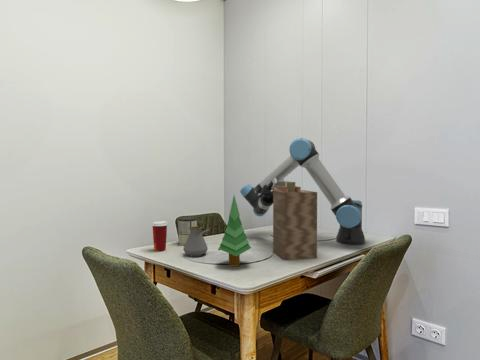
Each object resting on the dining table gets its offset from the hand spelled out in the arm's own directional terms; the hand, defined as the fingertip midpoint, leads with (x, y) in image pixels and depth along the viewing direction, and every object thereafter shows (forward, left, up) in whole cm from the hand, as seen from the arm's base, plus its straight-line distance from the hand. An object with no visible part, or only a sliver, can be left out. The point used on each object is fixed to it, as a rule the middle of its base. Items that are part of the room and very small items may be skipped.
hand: (280, 180), depth 164 cm
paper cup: (+57, -18, -35) cm, 69 cm away
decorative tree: (+27, +16, -35) cm, 47 cm away
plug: (0, +2, -5) cm, 5 cm away
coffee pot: (+36, -6, -35) cm, 51 cm away
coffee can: (+42, -29, -35) cm, 62 cm away
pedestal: (-4, +8, -35) cm, 36 cm away
